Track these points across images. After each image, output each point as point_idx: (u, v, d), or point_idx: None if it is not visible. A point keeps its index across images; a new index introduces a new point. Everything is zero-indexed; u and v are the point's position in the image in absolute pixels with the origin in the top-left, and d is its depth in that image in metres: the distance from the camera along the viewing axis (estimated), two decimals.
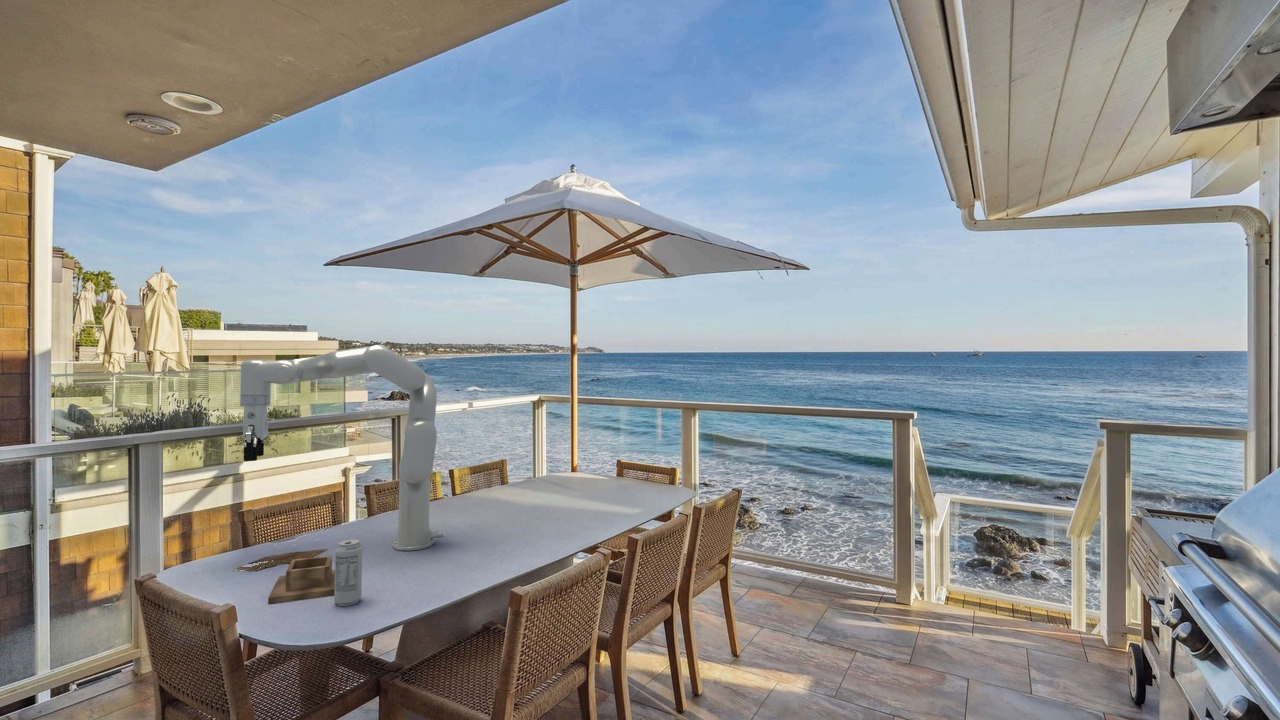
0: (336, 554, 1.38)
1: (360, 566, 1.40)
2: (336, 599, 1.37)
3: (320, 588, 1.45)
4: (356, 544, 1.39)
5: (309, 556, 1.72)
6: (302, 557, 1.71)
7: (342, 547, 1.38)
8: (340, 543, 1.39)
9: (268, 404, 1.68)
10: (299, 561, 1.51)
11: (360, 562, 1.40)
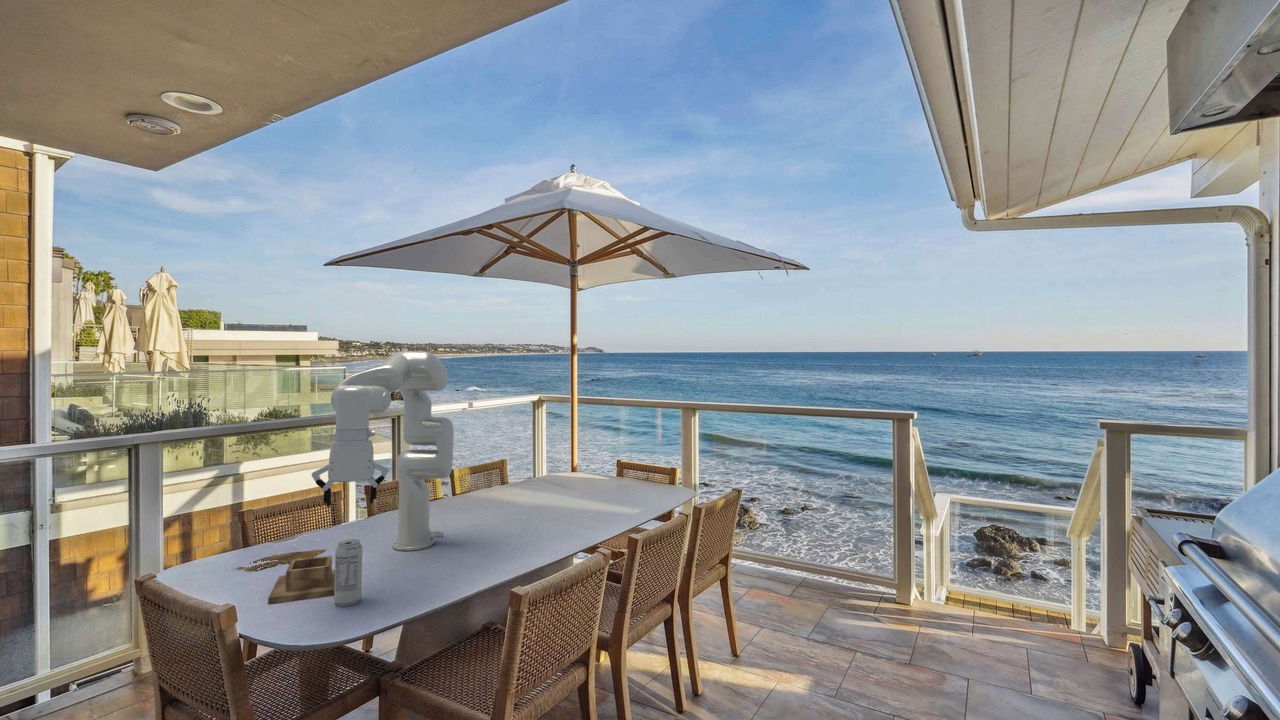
0: (336, 554, 1.38)
1: (360, 566, 1.40)
2: (336, 599, 1.37)
3: (320, 588, 1.45)
4: (356, 544, 1.39)
5: (309, 556, 1.72)
6: (302, 557, 1.71)
7: (342, 547, 1.38)
8: (340, 543, 1.39)
9: None
10: (299, 561, 1.51)
11: (360, 562, 1.40)
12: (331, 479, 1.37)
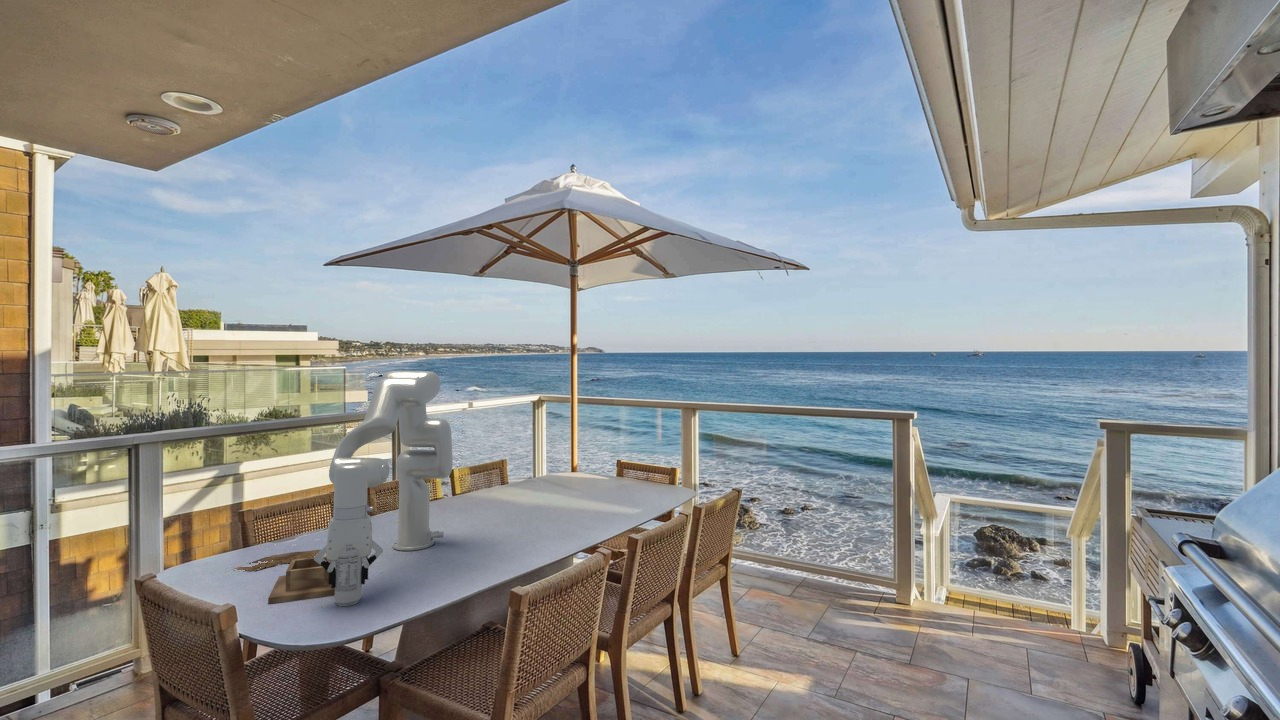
0: None
1: (360, 566, 1.40)
2: (336, 599, 1.37)
3: (320, 588, 1.45)
4: None
5: (309, 556, 1.72)
6: (302, 557, 1.71)
7: None
8: None
9: None
10: (299, 561, 1.51)
11: (360, 562, 1.40)
12: (329, 558, 1.37)
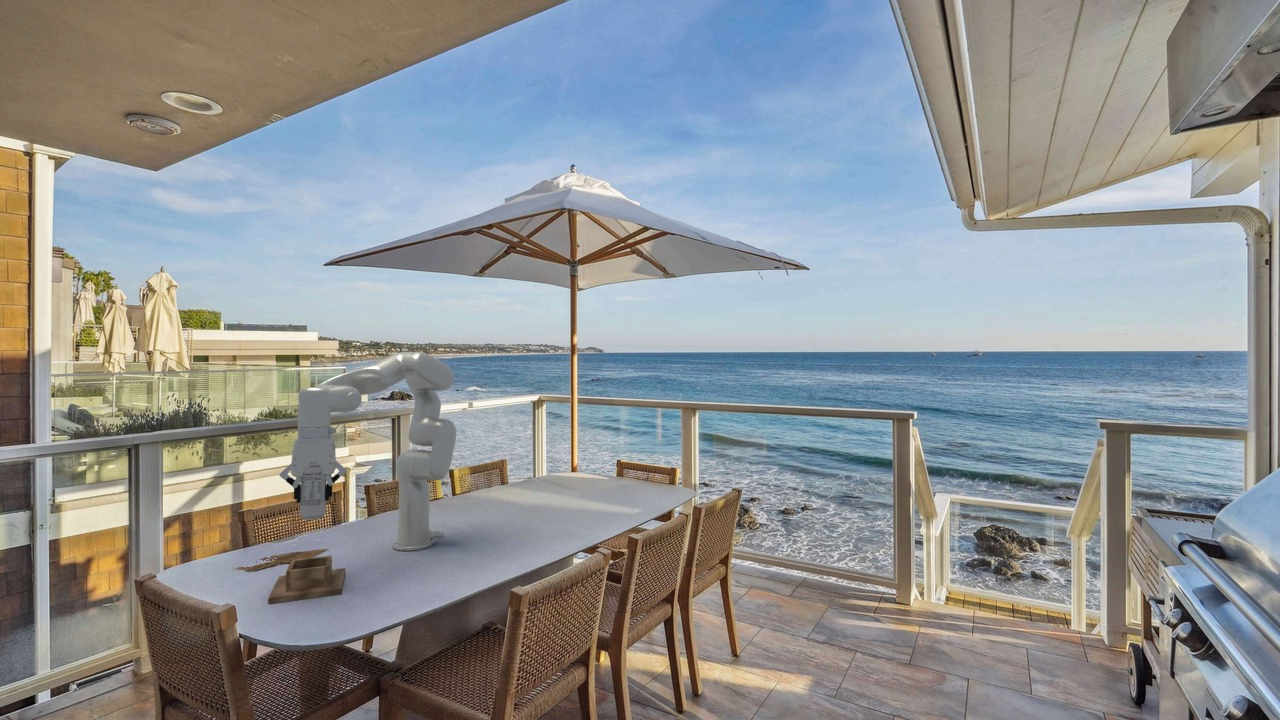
0: None
1: (324, 483, 1.49)
2: (301, 513, 1.46)
3: (320, 588, 1.45)
4: None
5: (309, 556, 1.72)
6: (302, 557, 1.71)
7: None
8: None
9: None
10: (299, 561, 1.51)
11: (324, 480, 1.49)
12: (294, 474, 1.46)
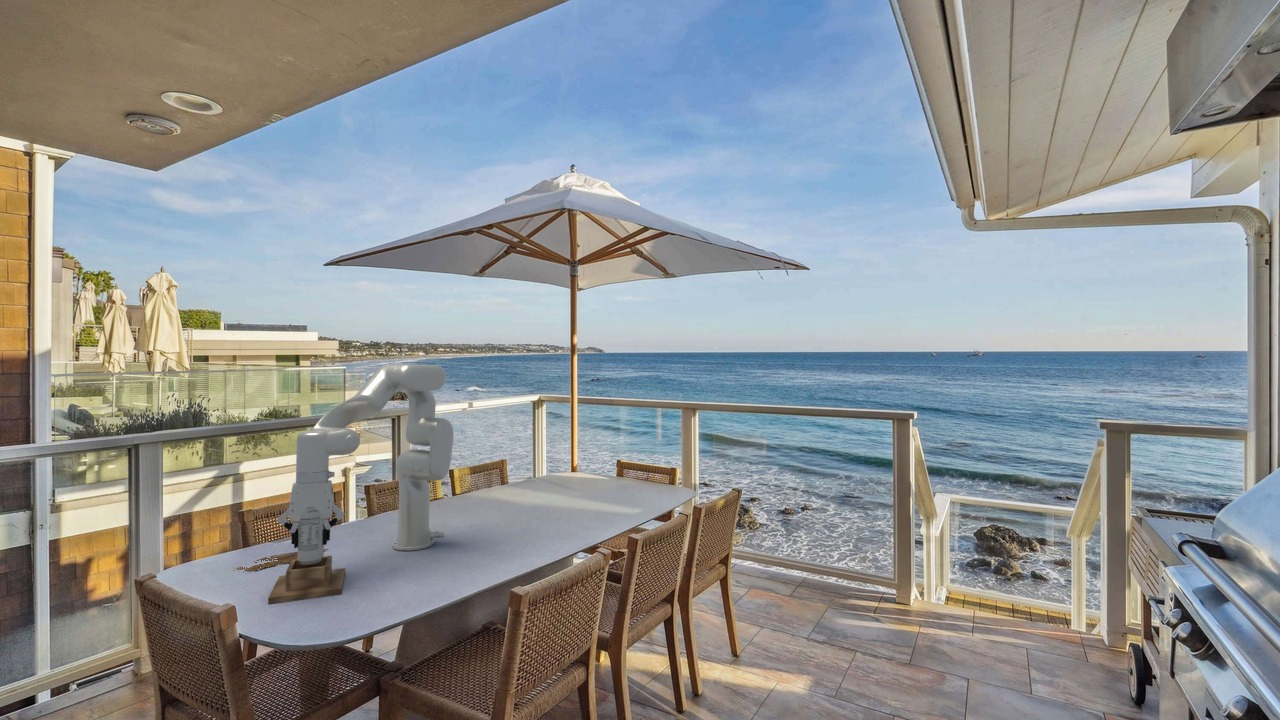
0: None
1: (322, 528, 1.49)
2: (299, 558, 1.46)
3: (320, 588, 1.45)
4: None
5: None
6: None
7: None
8: None
9: None
10: None
11: (322, 524, 1.49)
12: (292, 519, 1.46)
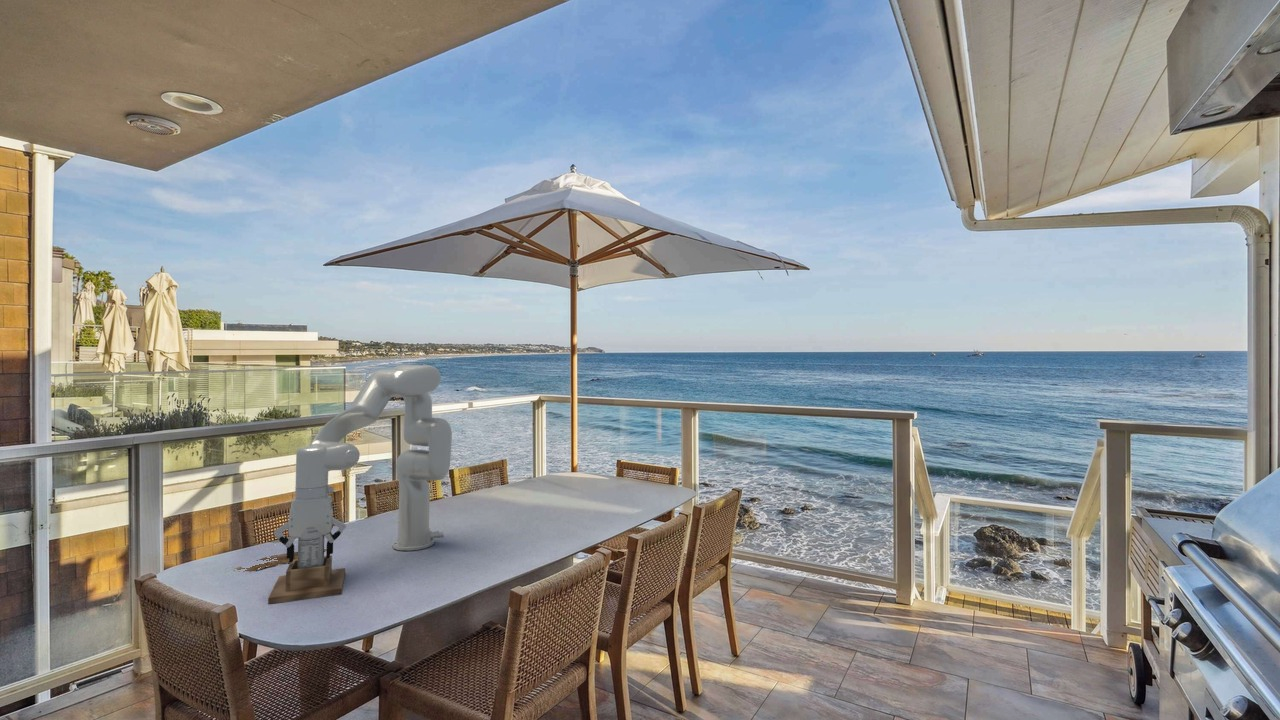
0: None
1: (322, 548, 1.49)
2: None
3: (320, 588, 1.45)
4: None
5: None
6: None
7: None
8: None
9: None
10: None
11: (322, 544, 1.49)
12: (291, 535, 1.46)
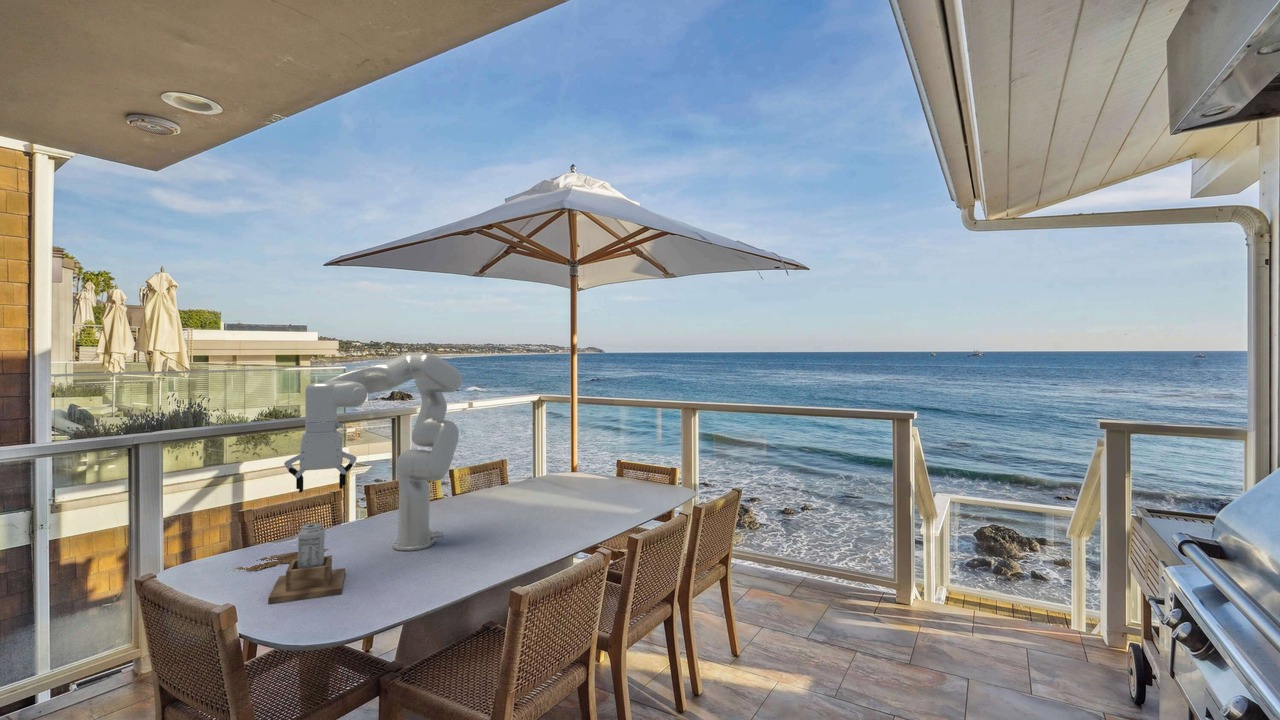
0: (299, 536, 1.47)
1: (322, 548, 1.49)
2: None
3: (320, 588, 1.45)
4: (318, 527, 1.48)
5: None
6: None
7: (304, 530, 1.47)
8: (303, 526, 1.48)
9: None
10: None
11: (322, 544, 1.49)
12: (302, 467, 1.50)
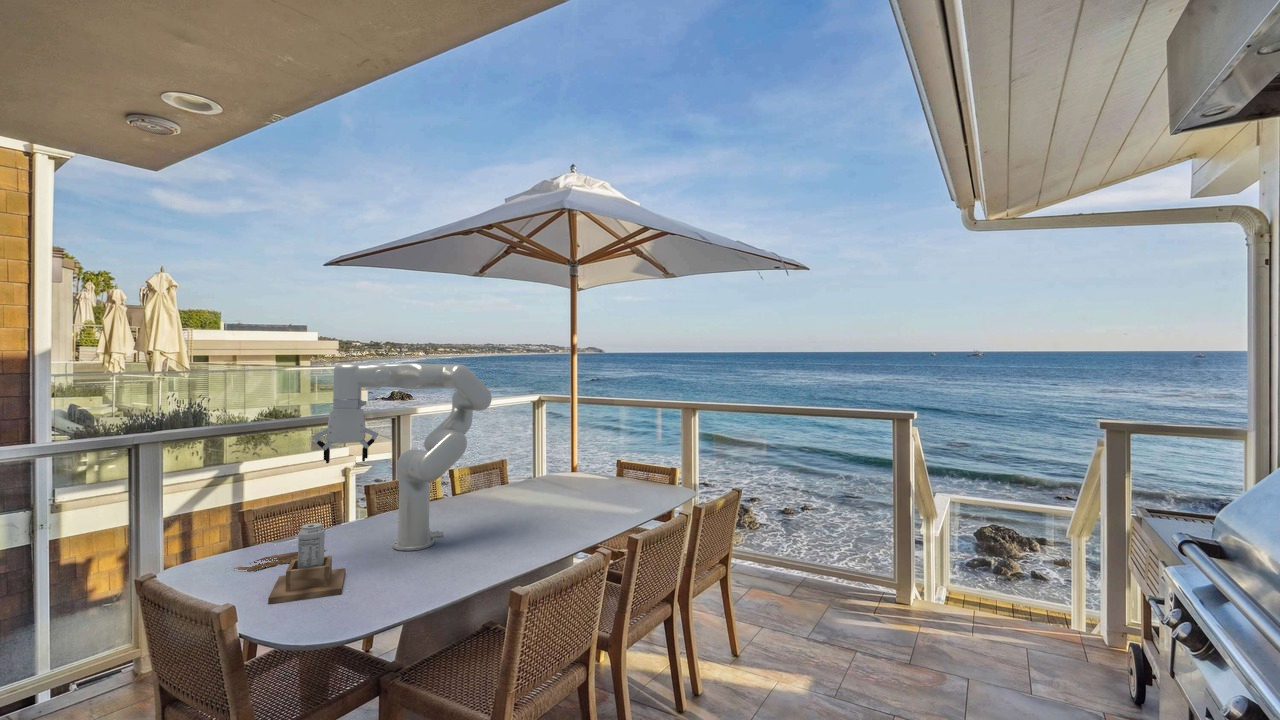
0: (299, 536, 1.47)
1: (322, 548, 1.49)
2: None
3: (320, 588, 1.45)
4: (318, 527, 1.48)
5: None
6: None
7: (304, 530, 1.47)
8: (303, 526, 1.48)
9: None
10: None
11: (322, 544, 1.49)
12: (330, 440, 1.65)
